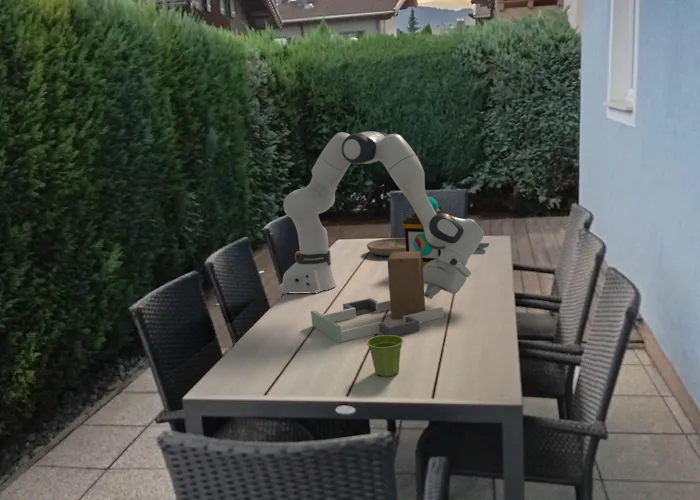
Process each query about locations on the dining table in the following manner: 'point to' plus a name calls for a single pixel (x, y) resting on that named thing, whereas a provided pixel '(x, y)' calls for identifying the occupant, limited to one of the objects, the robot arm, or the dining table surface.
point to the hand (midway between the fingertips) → (427, 297)
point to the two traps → (397, 330)
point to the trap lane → (334, 330)
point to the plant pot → (385, 354)
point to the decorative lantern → (421, 235)
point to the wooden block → (406, 283)
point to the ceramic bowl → (387, 246)
